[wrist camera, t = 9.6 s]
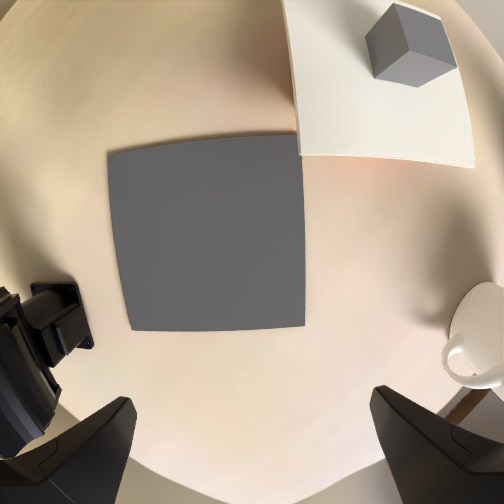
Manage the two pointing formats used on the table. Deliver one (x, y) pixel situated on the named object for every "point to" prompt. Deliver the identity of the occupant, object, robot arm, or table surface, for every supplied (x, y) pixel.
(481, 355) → the mug
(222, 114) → the table surface
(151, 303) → the mat
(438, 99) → the lid
